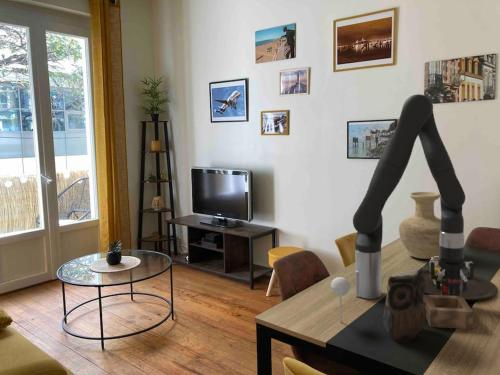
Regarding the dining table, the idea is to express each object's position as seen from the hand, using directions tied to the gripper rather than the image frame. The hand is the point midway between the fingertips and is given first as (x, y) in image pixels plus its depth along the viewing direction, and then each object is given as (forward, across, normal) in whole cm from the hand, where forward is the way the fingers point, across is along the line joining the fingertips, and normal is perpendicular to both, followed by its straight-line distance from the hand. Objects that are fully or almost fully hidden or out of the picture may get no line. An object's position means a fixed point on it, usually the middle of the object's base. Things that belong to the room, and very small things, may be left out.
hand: (450, 290), depth 143 cm
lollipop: (+5, -37, -18) cm, 41 cm away
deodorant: (+5, 0, 0) cm, 5 cm away
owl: (+5, -19, -22) cm, 29 cm away
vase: (+5, +1, +54) cm, 54 cm away
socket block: (+5, -4, -12) cm, 14 cm away
